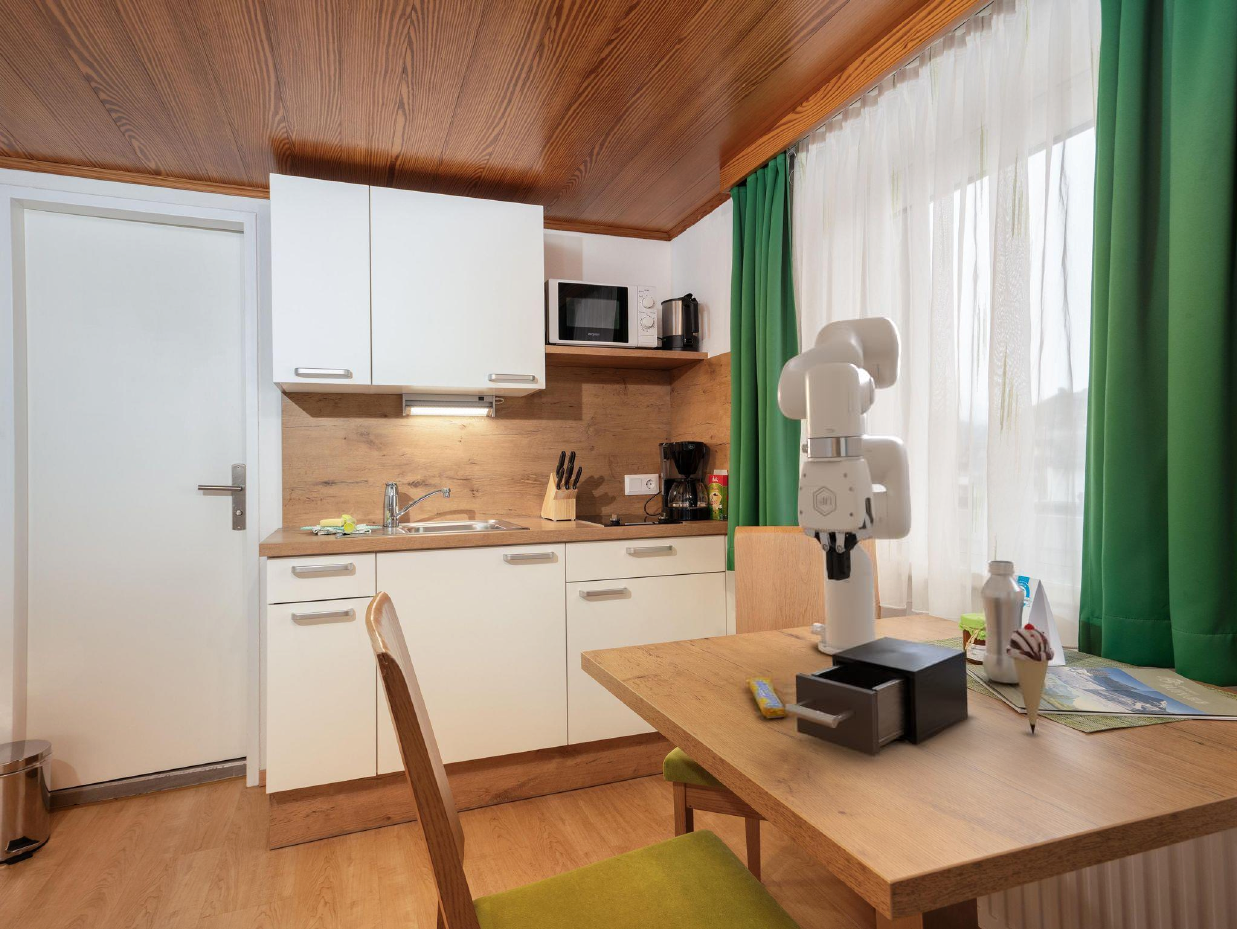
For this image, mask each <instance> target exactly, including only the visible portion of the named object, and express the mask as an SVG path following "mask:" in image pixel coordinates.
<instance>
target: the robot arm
mask: <svg viewBox="0 0 1237 929" xmlns="http://www.w3.org/2000/svg"><path fill="white" fill-rule="evenodd" d="M814 342H815V343H814V347H812V348H811V349H808V350H806V351H804V352H802V353H800V354H797V355H795V356H793V357H792V358H790V359H789V360H788V361H787V362H785V364H784V366H783V367H782V370H781V373H780V376H779V380H778V384H777V395H776V398H777V404H778V408H779V410H780V412H781V413H782V414H783V415H784V417H786V418H787V419H790V420H805V421H806V422H805V424H806V443H804V444H802V445H801V452H802V453H804V454H806V455H807V456H806V457H807V460H806V461H804V460H803V461H802V464H801V469H800V474H799V482H798V492H797V494H798V495H797V496H798V497H797V520H798V524H799V526H800V527H801V528H803V534H804V535H805V536H807V537H811V538H813V539H815V540H816V541H817V542H818V544H820V546H821V549H822V559H823V560H822V562H823V584H824V585H823V590H824V591H823V592H824V621H825V622H824V623H825V624H823V623H818V622H814V623H813V625H812V626H811V628H810V633H811V634H812V635H817V636H820V637H821V638H820V639H821V640H820V641H818V643H817V648H818V650H819V651H820V652H822V653H823V654H826V655H830V656H832V654H834V653H837V652H841V651H844V650H847V649H850V648H853V647H856V646H859V645H862V644H865V643H868V642H871V641H874V640H877V630H876V628H877V627H876V597H875V596H876V595H875V569H874V568H875V567H874V561H873V559H872V556H871V555H870V554H869V552H868V551H867V550H866V549H865V548H864V547H863V546H862V544H860V542H862V541H866V540H867V541H868V540H900V539H904V538H905V537H907V536H908V535H909V534H910V532H911V528H912V504H911V503H912V501H911V488H910V487H911V485H910V484H911V483H910V482H911V481H910V469H909V468H910V465H909V457H908V451H907V448H906V445H905V443H904V442H903V440H901V439H900V438H899V437H896V436H889V435H887V436H886V435H883V436H869V435H868V433H867V414H866V413H867V412H868V411H869V410H870V409H871V407H872V405H873V404H874V403H875V399H876V390H884V389H888V388H892V387H893V386H894V385H896V383H897V381H898V379H899V377H900V369H901V338H900V333H899V330H898V328H897V325H896V324H895V322H894V321H892V320H891V318H888V317H886V316H885V317H884V316H875V317H865V318H856V319H855V318H854V319H845V320H837V321H833V322H830V323H827V324H826V325H824V326H823V327H822V328H821V329H820V330H819V331H818V333H817V335H816V338H815V341H814ZM873 485H879V486H882V487H883V488H884V489H885V490H873Z"/></svg>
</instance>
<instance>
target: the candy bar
mask: <svg viewBox="0 0 1237 929" xmlns="http://www.w3.org/2000/svg"><path fill="white" fill-rule="evenodd" d="M745 683H746V684H747V685H748V687H749V689H750V691H751V693H752V695H753V697H754V699H755V701H756V704H757V705H758V707H759V709H760V711H761V714H762V715H763V716H764V717H765V718H766V719H767V720H768V719H776V718H777V719H778V718H785V717H787V716H788V715H789V714H787V713H786V712H785V707H784V705H783V703H782V702H781V700H780V698H779V697H778V695H777V693H776V691H775V689H774V687H773V685H772V684H771V683H772V678H771V677H769V676H755V677H747V678H745Z"/></svg>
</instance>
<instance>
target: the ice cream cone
mask: <svg viewBox="0 0 1237 929" xmlns="http://www.w3.org/2000/svg"><path fill="white" fill-rule="evenodd" d="M1013 633H1014V634H1013V635H1012V637H1011V640H1010V645H1008V646H1007V647H1006V653H1007V656H1008V657H1009V658H1013V662H1014V666H1015V670H1016V673H1017V677H1018V681H1019V683H1018V684H1019V688H1020V691H1021V696H1022V699H1023V700H1022V701H1023V703H1024V704H1023V705H1024V707H1025V711H1026V714H1027V719H1028V722H1029V726H1030V731H1031V734H1032V735H1034V734H1035V729H1036V725H1037V719H1038V716H1039V710H1040V704H1041V700H1042V695H1043V690H1044V686H1045V680H1046V676H1047V671H1048V667H1049V661H1050V662H1051V661H1053V659H1054V657H1055V650H1054V649H1052V647H1051V644H1050V641H1049V639H1048V637H1047V636H1046V635H1045V631H1041V630H1039V629H1037V628H1035V626H1034V625H1033V624H1032V623H1025V625H1024V626H1023V627H1021V628H1020V629H1019V630H1017V631H1013Z"/></svg>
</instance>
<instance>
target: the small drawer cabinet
mask: <svg viewBox="0 0 1237 929" xmlns="http://www.w3.org/2000/svg"><path fill="white" fill-rule="evenodd" d="M843 662H846V663H850V664H855V665H860V666H864V667H869V668H873V669H878V670H882V671H887V672H891V673H896V674H900V675H905V676H910V677H909V680H910V709H911V731H910V732H908V733H906V734H904V735H902V736H900V737H898V738H896V739H897V740H899V741H900V740H901V741H903V742H907V743H909V744H910V743H911V744H914V745H919V744H921V743H922V742H925V741H927V740H928V739H930V738H932V737H934V736H936V735H938V734H940V733H941V732H943V731H945V730H947V729H949V728H951V727H952V726H954V725H956V724H958V723H960V722H963V720H966V719H967V718H969V713H968V712H969V705H968V679H967V678H968V676H967V673H968V672H967V651H966V650H962V649H955V648H950V647H945V646H941V645H940V646H939V645H934V644H928V643H923V642H917V641H911V640H907V639H899V638H895V637H889V636H888V637H887V636H884V637H879V638H878V639H877V638H876V640H874V641H871V642H868V643H865V644H862V645H859V646H856V647H853V648H850V649H847V650H844V651H841V652H837V653H834V654H832V655H831V667H832V666H834V665H837V664H840V663H843Z"/></svg>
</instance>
